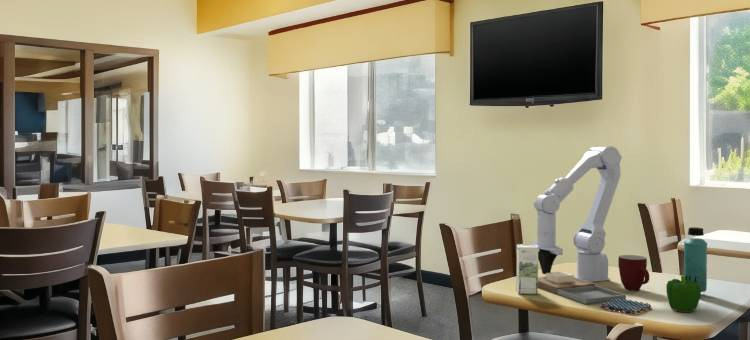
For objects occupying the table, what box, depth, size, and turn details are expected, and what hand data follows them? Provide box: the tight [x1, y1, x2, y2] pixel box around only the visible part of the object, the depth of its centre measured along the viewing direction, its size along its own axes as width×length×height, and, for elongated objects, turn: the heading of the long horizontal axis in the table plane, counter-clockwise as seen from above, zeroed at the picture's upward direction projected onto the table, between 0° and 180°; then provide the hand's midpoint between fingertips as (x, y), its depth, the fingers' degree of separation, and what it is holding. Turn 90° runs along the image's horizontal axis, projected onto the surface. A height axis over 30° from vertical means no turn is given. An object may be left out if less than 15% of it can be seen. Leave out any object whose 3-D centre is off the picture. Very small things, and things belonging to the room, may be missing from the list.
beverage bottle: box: [682, 226, 708, 293], centre depth 195 cm, size 6×7×20 cm
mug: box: [618, 254, 650, 292], centre depth 201 cm, size 10×8×10 cm
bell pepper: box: [665, 274, 702, 313], centre depth 178 cm, size 8×8×10 cm
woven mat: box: [599, 298, 653, 316], centre depth 180 cm, size 10×11×2 cm
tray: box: [556, 284, 627, 305], centre depth 193 cm, size 14×13×2 cm
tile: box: [545, 271, 575, 283], centre depth 207 cm, size 6×6×2 cm
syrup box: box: [515, 243, 539, 296], centre depth 199 cm, size 6×6×14 cm
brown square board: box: [538, 276, 596, 295], centre depth 206 cm, size 14×14×2 cm
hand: (546, 273), depth 213 cm, fingers closed
